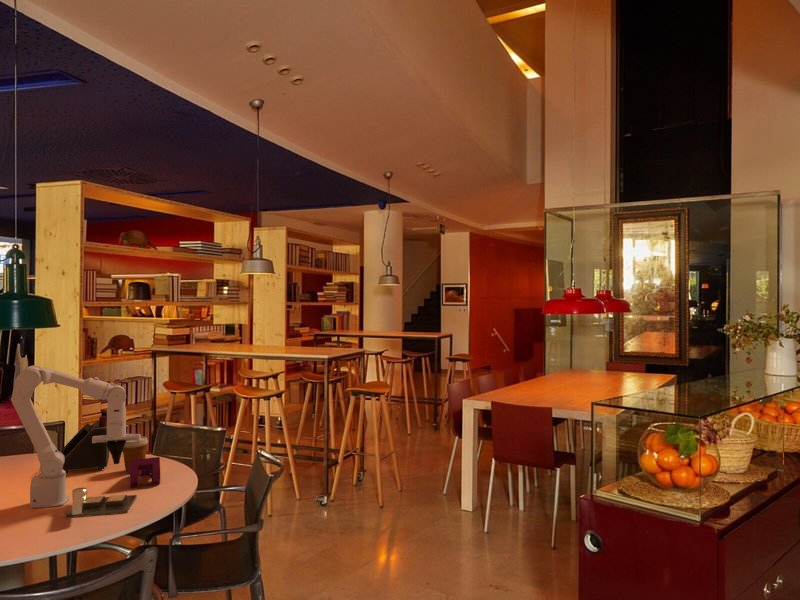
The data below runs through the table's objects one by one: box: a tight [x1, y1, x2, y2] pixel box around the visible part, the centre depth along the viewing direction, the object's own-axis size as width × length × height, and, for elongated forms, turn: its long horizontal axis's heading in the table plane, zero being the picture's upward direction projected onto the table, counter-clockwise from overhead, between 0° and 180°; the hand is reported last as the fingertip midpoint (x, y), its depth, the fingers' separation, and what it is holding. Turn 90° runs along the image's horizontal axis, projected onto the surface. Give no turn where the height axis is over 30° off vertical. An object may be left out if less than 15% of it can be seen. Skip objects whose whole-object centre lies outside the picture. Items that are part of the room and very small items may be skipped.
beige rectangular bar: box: [71, 487, 88, 515], centre depth 182 cm, size 16×4×3 cm, turn 25°
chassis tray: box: [65, 494, 137, 518], centre depth 189 cm, size 17×14×3 cm
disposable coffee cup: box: [122, 436, 149, 474], centre depth 230 cm, size 10×10×12 cm
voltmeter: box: [60, 411, 110, 474], centre depth 235 cm, size 16×16×20 cm
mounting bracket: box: [128, 456, 161, 488], centre depth 217 cm, size 10×8×18 cm
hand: (116, 463), depth 201 cm, fingers closed
